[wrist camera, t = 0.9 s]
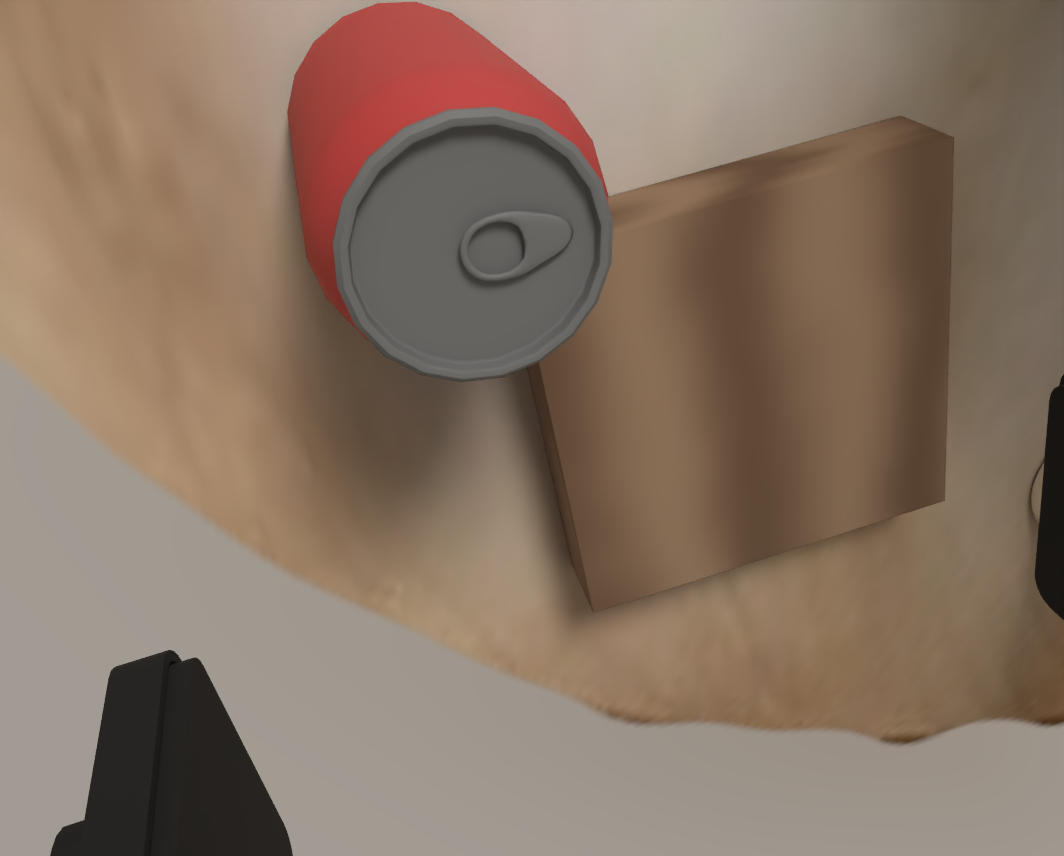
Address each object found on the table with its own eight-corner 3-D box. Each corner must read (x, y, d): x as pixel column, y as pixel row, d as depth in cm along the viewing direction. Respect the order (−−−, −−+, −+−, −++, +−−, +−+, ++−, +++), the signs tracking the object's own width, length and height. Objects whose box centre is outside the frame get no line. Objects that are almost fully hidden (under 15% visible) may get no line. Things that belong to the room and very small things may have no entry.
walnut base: (901, 115, 34) (954, 137, 31) (901, 460, 41) (944, 500, 38) (495, 227, 32) (516, 260, 30) (571, 564, 40) (593, 613, 37)
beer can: (526, 200, 32) (655, 362, 22) (321, 248, 31) (354, 440, 21) (489, -24, 29) (620, 44, 18) (257, 25, 28) (260, 124, 18)
